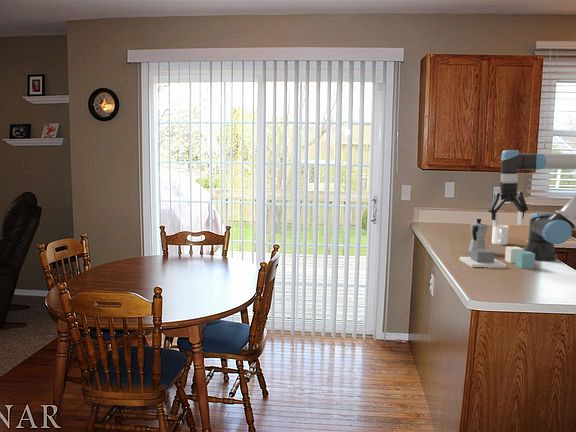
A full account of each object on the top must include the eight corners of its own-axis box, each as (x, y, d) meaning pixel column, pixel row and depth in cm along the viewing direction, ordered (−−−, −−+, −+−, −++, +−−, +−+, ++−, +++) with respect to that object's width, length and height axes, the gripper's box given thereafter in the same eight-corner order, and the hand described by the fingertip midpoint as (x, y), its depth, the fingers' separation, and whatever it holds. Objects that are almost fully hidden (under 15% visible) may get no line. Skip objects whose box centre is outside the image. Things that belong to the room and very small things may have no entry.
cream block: (516, 260, 245) (517, 246, 244) (522, 263, 239) (523, 249, 238) (504, 260, 245) (505, 246, 244) (510, 263, 239) (511, 248, 238)
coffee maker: (471, 248, 272) (473, 216, 269) (488, 251, 267) (490, 218, 264) (463, 253, 260) (466, 219, 257) (481, 255, 255) (483, 221, 252)
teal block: (527, 265, 234) (528, 251, 233) (534, 268, 228) (535, 253, 227) (515, 265, 234) (516, 251, 233) (521, 268, 228) (522, 253, 227)
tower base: (491, 260, 244) (492, 247, 243) (505, 267, 228) (506, 254, 228) (459, 259, 244) (460, 246, 243) (471, 267, 228) (472, 253, 227)
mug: (492, 245, 282) (493, 227, 281) (491, 242, 293) (492, 224, 292) (508, 246, 279) (510, 228, 278) (506, 243, 291) (508, 225, 289)
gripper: (526, 181, 242) (524, 223, 245) (481, 182, 237) (479, 226, 240) (537, 181, 235) (535, 225, 237) (490, 183, 230) (489, 228, 233)
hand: (507, 225), depth 239 cm, fingers open, 13 cm apart
